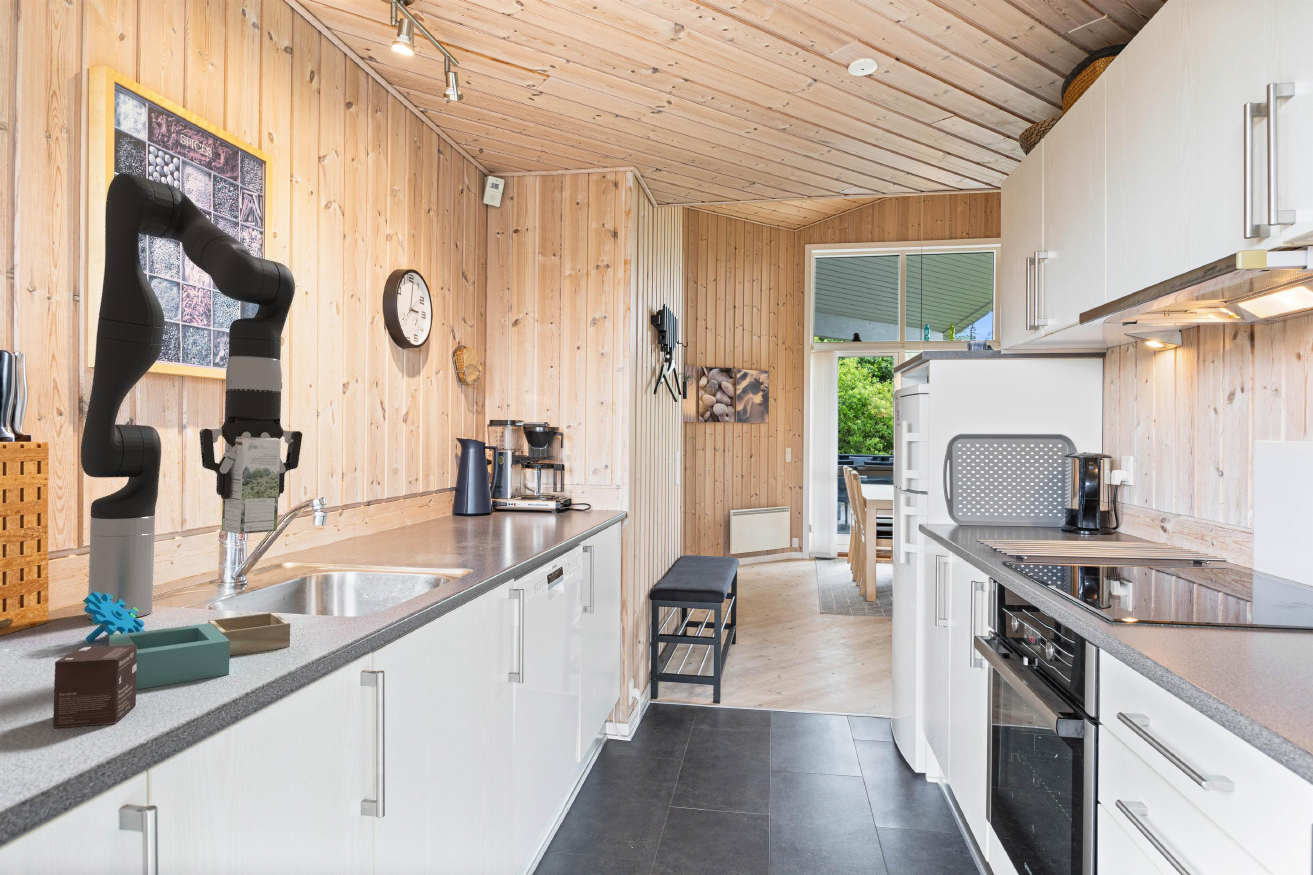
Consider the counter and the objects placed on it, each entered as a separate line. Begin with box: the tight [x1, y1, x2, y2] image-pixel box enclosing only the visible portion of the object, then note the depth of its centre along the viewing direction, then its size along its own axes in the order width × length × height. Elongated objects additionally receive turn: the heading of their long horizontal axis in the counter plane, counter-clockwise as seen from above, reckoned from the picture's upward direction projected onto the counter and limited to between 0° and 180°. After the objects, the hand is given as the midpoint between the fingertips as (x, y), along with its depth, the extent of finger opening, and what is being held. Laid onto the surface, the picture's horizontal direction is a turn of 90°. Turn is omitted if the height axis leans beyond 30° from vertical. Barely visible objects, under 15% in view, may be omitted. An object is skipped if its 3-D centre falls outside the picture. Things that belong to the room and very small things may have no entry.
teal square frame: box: [108, 622, 231, 691], centre depth 101 cm, size 12×12×4 cm
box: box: [52, 645, 137, 729], centre depth 85 cm, size 6×6×7 cm
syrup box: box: [221, 437, 282, 535], centre depth 114 cm, size 6×6×14 cm
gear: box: [82, 592, 146, 643], centre depth 115 cm, size 11×6×10 cm
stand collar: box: [207, 612, 291, 657], centre depth 115 cm, size 9×9×4 cm
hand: (250, 497), depth 114 cm, fingers closed on syrup box, 6 cm apart
